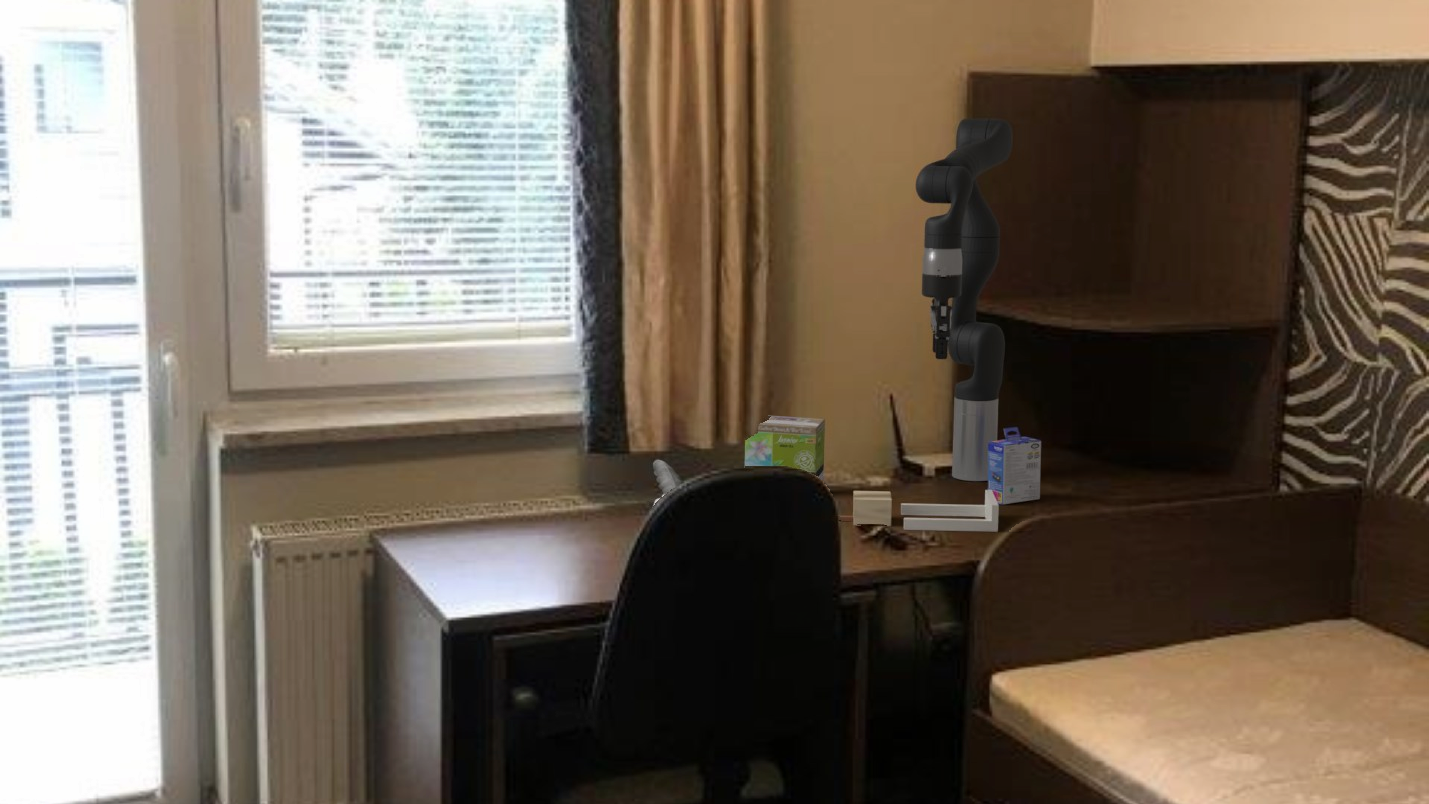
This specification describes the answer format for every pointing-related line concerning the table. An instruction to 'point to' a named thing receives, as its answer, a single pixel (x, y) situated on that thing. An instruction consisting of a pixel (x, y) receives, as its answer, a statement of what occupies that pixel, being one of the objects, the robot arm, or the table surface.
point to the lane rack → (953, 510)
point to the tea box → (788, 444)
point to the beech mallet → (870, 508)
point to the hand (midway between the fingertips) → (939, 355)
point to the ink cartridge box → (1014, 468)
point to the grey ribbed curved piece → (665, 477)
